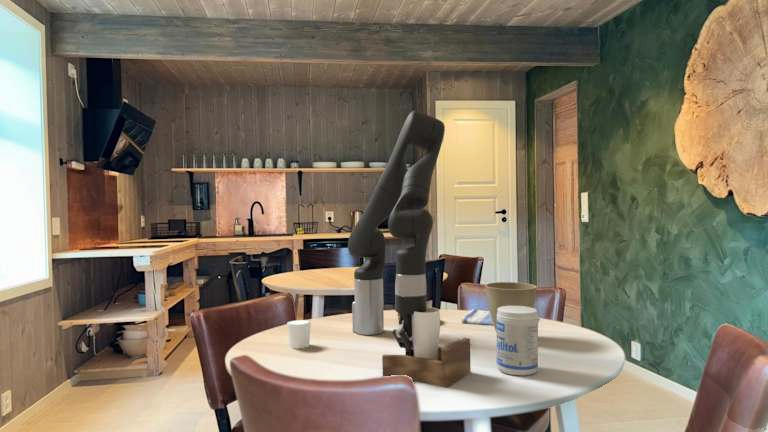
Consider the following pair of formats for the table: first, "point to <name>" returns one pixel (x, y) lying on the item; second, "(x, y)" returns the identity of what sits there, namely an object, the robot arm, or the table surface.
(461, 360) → the holder
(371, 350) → the table surface
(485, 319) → the dish towel
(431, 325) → the drinking glass
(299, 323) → the white cup
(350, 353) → the table surface
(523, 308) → the supplement tub
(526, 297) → the plant pot
